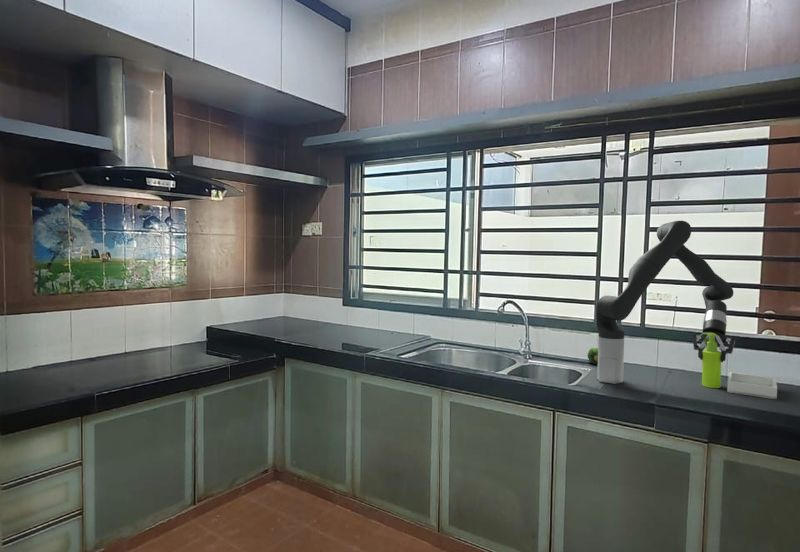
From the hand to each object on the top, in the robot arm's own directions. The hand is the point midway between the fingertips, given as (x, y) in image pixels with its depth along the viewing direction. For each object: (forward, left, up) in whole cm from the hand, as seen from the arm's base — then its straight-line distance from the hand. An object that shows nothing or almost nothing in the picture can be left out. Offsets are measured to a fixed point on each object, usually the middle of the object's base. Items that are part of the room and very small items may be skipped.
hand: (711, 359), depth 176 cm
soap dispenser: (+2, 0, -10) cm, 11 cm away
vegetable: (+17, +46, -11) cm, 50 cm away
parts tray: (+4, -12, -10) cm, 17 cm away
